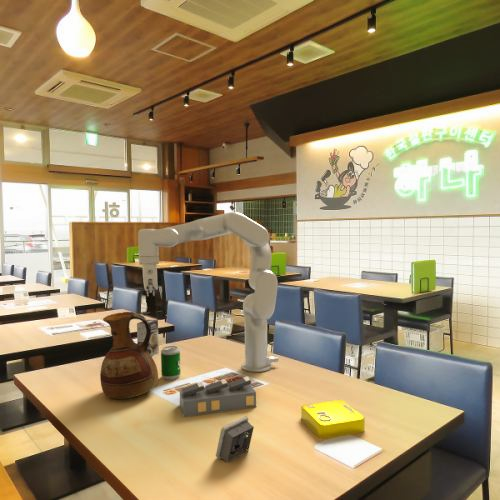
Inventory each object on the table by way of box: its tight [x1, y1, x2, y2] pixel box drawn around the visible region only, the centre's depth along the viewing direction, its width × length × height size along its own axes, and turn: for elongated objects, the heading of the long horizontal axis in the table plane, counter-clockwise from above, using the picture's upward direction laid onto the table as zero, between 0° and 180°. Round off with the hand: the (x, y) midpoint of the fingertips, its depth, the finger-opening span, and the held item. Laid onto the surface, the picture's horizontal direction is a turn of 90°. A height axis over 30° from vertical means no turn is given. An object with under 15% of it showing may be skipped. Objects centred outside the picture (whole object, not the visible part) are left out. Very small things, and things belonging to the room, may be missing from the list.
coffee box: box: [136, 319, 160, 357], centre depth 202 cm, size 9×6×16 cm
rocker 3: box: [227, 375, 252, 390], centre depth 144 cm, size 7×4×1 cm, turn 106°
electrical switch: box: [215, 416, 255, 464], centre depth 111 cm, size 9×5×9 cm, turn 136°
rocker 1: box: [181, 381, 205, 396], centre depth 140 cm, size 7×4×1 cm, turn 106°
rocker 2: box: [204, 378, 229, 393], centre depth 142 cm, size 7×4×1 cm, turn 106°
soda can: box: [160, 345, 181, 381], centre depth 170 cm, size 8×8×12 cm
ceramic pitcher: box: [99, 311, 159, 400], centre depth 154 cm, size 20×20×30 cm
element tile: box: [300, 399, 366, 439], centre depth 128 cm, size 15×15×5 cm
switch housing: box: [179, 384, 257, 418], centre depth 142 cm, size 24×10×6 cm, turn 107°
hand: (150, 304), depth 165 cm, fingers open, 9 cm apart
